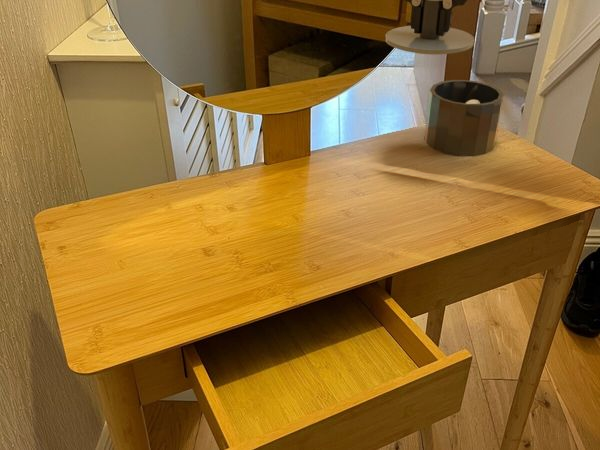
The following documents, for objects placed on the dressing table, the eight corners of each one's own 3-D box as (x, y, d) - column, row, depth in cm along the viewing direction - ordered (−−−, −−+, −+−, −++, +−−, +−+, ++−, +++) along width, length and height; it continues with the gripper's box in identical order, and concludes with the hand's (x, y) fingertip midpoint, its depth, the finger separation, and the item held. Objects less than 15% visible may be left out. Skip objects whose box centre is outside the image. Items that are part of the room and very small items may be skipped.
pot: (496, 143, 109) (507, 85, 103) (486, 171, 100) (497, 109, 94) (432, 132, 112) (439, 76, 107) (416, 158, 104) (423, 98, 98)
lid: (479, 38, 92) (486, -8, 88) (464, 63, 82) (471, 13, 79) (397, 29, 96) (401, -14, 92) (373, 52, 86) (376, 4, 83)
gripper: (382, -104, 78) (374, 35, 88) (497, -100, 74) (475, 46, 83) (398, -109, 84) (389, 22, 93) (505, -106, 80) (484, 31, 89)
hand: (430, 32), depth 88 cm, fingers closed on lid, 3 cm apart
